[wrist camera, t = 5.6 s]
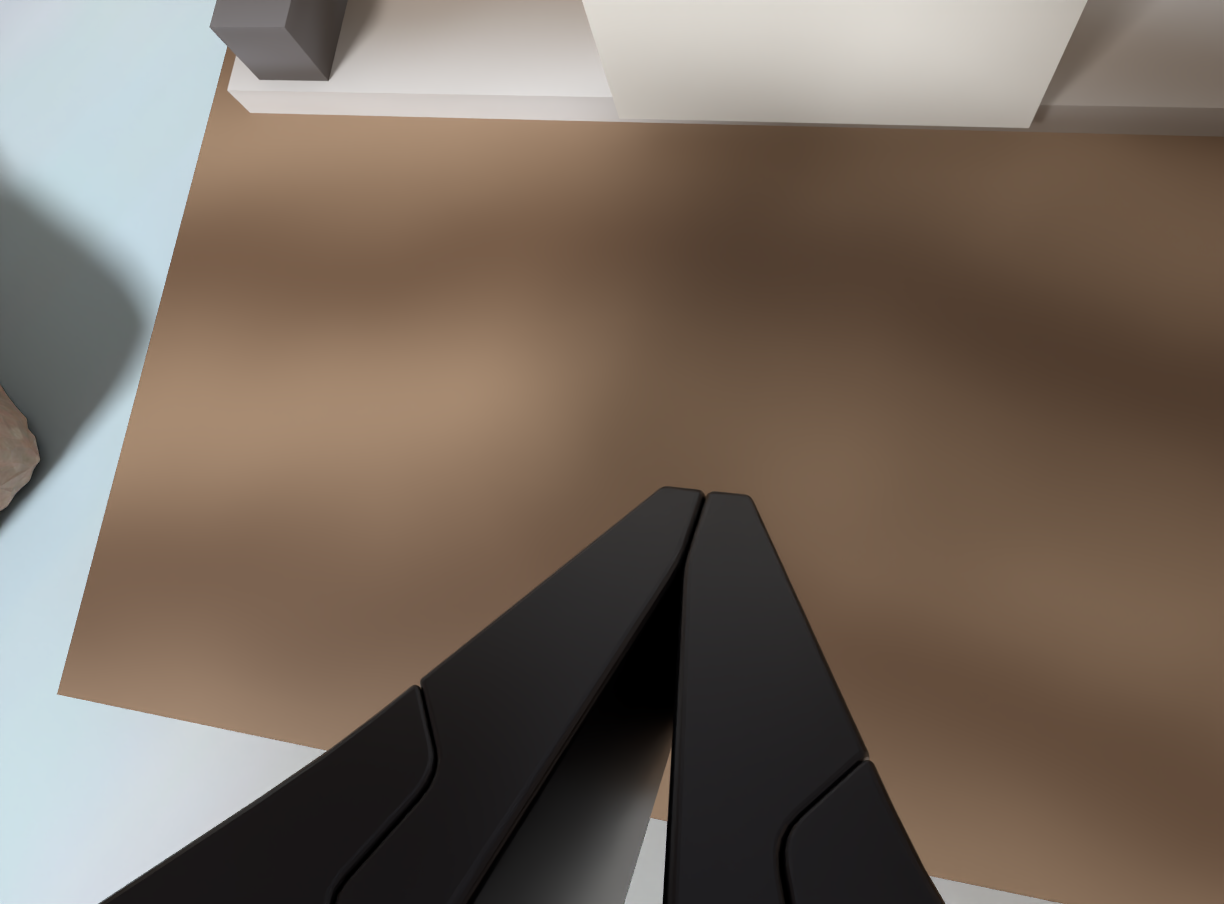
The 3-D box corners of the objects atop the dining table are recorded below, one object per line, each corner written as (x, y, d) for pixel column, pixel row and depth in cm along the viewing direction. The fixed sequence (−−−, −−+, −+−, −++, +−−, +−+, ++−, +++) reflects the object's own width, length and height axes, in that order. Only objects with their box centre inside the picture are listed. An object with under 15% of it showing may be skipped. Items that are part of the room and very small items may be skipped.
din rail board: (1669, 1010, 12) (2024, 1159, 9) (104, 690, 18) (-61, 702, 14) (1595, -97, 15) (1830, -312, 12) (295, -62, 21) (198, -200, 18)
